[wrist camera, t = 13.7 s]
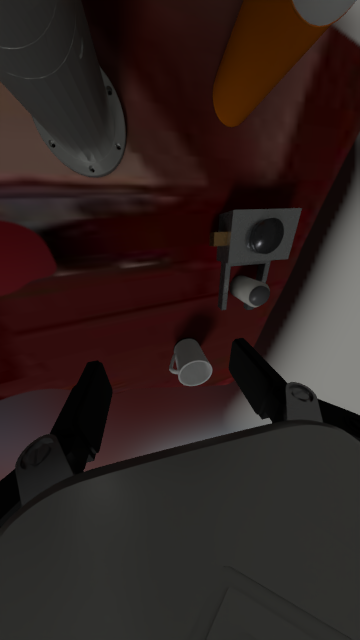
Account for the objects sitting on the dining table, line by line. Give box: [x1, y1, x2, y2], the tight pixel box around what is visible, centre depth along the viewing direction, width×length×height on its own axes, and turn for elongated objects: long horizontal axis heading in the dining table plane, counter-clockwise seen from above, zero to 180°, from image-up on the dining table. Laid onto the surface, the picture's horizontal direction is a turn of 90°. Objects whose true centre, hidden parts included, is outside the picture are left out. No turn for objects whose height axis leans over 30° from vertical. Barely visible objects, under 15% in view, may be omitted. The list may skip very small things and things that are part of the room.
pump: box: [229, 275, 270, 310], centre depth 37 cm, size 7×6×9 cm
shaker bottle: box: [213, 0, 356, 127], centre depth 16 cm, size 9×9×20 cm
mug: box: [169, 338, 212, 386], centre depth 42 cm, size 11×9×10 cm
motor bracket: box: [209, 208, 302, 310], centre depth 35 cm, size 21×17×8 cm
